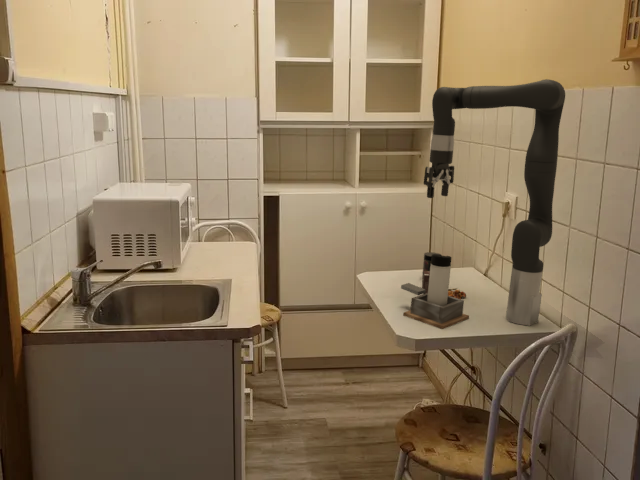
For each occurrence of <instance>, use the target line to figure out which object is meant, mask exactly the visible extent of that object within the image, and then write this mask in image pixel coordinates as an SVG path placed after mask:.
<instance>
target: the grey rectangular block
mask: <svg viewBox="0 0 640 480" xmlns="http://www.w3.org/2000/svg"><path fill="white" fill-rule="evenodd" d="M400 289H401V290H404V291H406V292H409V293H411V294H414V295H417V296H419V295H422V294H424V293H425V291H426V290H425V289H423V288H422V287H420V286H418V285H415V284H412V283H410V282H408V283H404V284H401V287H400Z"/></svg>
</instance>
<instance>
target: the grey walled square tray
mask: <svg viewBox="0 0 640 480" xmlns="http://www.w3.org/2000/svg"><path fill="white" fill-rule="evenodd" d="M427 298H428V293H425V294H421V295H417V296H414V297H411V300H410V302H411V303H410V309H409V310H407V311H404V312H402V313H403V316H404V317H406V318H409V319H413V320H414V321H417V322H421V323H424V324H427V325H429V326H432V327H435V328H438V329H441V330H444V329H446V328H450V327H451V326H454V325H457V324H459V323H461V322H463V321H467V320H468V319H470V315H469V314H467V313H464V312H463V311H464V305H465V300H464V299H462V298H461V299H457V298H454V297H451V296H448V298H447V305H444V306H439V305H436V304H433V303H430V302H427Z"/></svg>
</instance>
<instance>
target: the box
mask: <svg viewBox="0 0 640 480" xmlns="http://www.w3.org/2000/svg"><path fill="white" fill-rule="evenodd" d="M422 273H423V279H422V281H421V282H422V283H421V288H423V289H425V290H426V291H425V293H428V287H429V277H430V271H423V270H422ZM425 293H424V294H425Z"/></svg>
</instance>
